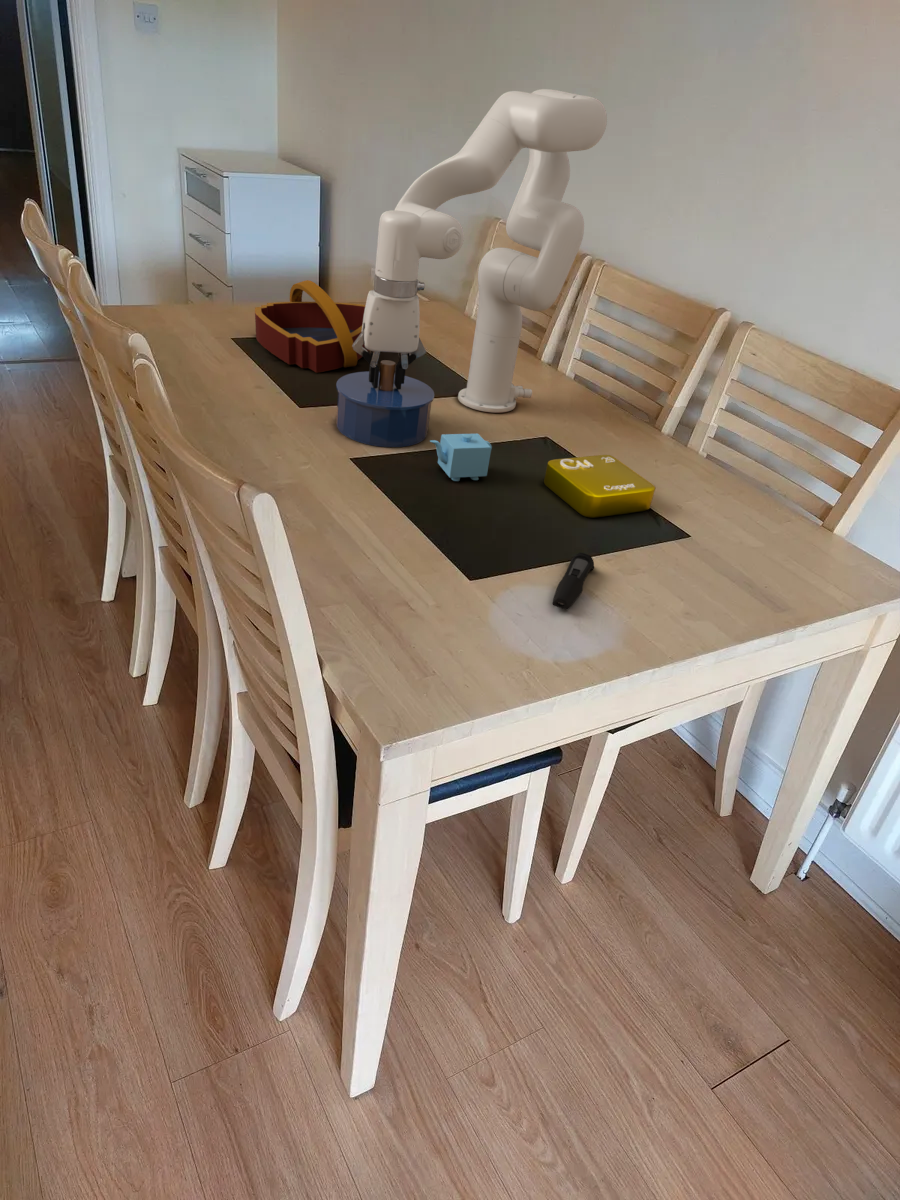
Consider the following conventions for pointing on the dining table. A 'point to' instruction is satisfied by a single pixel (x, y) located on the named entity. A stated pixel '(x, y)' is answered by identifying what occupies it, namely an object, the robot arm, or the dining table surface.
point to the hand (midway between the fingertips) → (385, 385)
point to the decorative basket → (311, 329)
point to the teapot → (463, 455)
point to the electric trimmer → (573, 581)
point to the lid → (385, 390)
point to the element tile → (598, 485)
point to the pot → (382, 424)
